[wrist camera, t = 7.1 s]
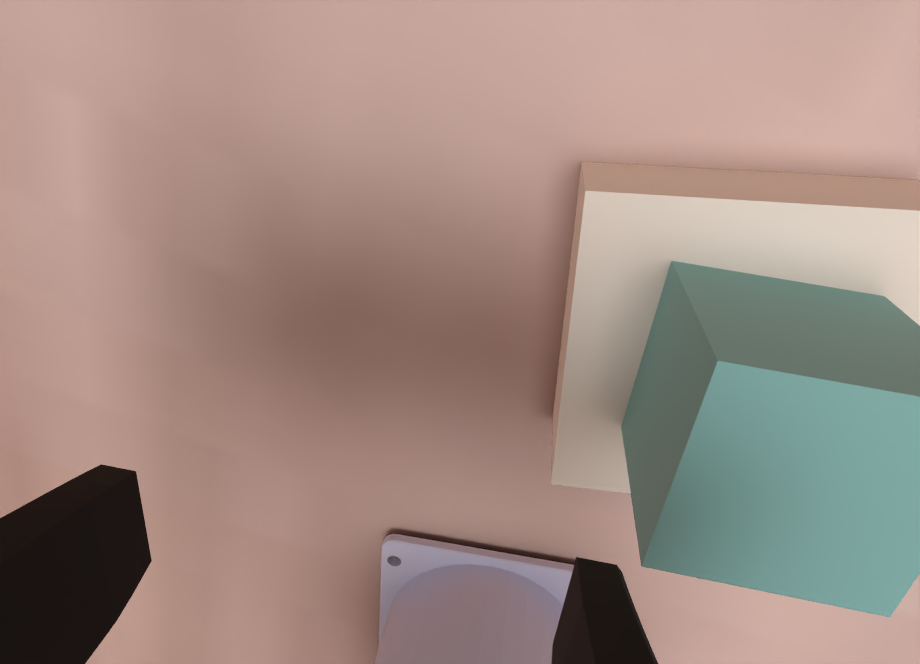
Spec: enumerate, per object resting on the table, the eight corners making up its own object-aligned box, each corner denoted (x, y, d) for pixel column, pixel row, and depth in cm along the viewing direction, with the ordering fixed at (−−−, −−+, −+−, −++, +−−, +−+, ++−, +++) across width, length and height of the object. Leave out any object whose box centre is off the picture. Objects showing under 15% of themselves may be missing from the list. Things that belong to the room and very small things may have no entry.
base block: (815, 439, 19) (865, 521, 16) (552, 412, 20) (550, 484, 17) (909, 176, 15) (998, 215, 12) (580, 158, 16) (585, 190, 13)
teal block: (803, 461, 15) (890, 617, 11) (620, 426, 15) (641, 566, 11) (884, 296, 13) (1026, 415, 9) (671, 260, 13) (717, 360, 9)
